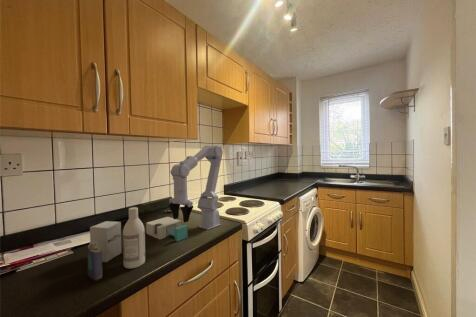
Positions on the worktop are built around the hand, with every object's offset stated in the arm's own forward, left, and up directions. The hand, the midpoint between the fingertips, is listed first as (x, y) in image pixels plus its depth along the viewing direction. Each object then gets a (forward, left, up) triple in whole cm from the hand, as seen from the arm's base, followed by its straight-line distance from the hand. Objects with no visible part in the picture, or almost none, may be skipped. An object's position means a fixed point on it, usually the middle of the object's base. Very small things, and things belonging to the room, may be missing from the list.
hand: (180, 220), depth 93 cm
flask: (+34, 0, -9) cm, 35 cm away
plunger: (+4, -12, -7) cm, 15 cm away
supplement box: (+27, -10, -9) cm, 30 cm away
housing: (0, -14, -9) cm, 17 cm away
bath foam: (+23, +4, -9) cm, 25 cm away
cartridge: (0, -9, -9) cm, 12 cm away
